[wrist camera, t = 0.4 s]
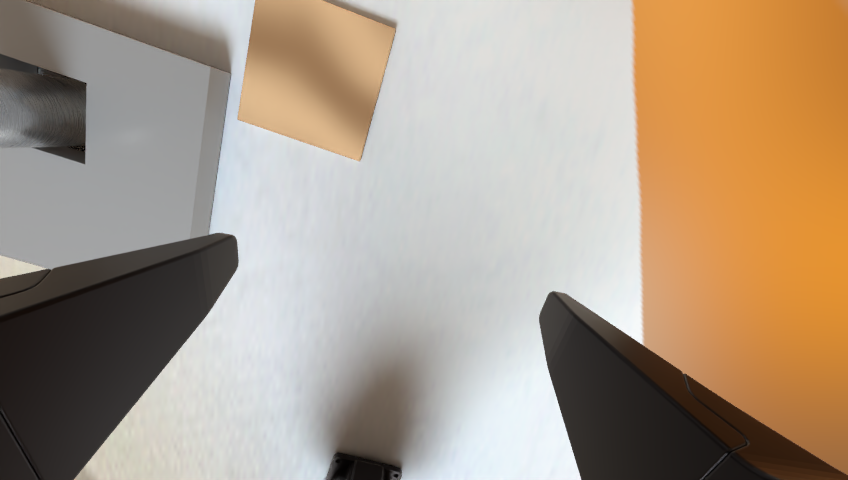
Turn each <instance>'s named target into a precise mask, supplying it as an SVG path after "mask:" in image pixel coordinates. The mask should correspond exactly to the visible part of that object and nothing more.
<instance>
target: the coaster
mask: <svg viewBox="0 0 848 480" xmlns="http://www.w3.org/2000/svg"><path fill="white" fill-rule="evenodd" d="M395 32H396V30H395V28H392V27H390V26H387V25H384V24H382V23H379V22H377V21H374V20H372V19H369V18H366V17H364V16H361V15H359V14H356V13H354V12H351V11H348V10H346V9H343V8H341V7H338V6H336V5H333V4H330V3H328V2H325V1H323V0H255V7H254V13H253V20H252V27H251V33H250V40H249V46H248V53H247V60H246V66H245V73H244V79H243V86H242V92H241V99H240V106H239V112H238V120H240V121H243V122H246V123H249V124H252V125H255V126H258V127H261V128H264V129H267V130H270V131H272V132H275V133H278V134H281V135H284V136H287V137H290V138H293V139H296V140H299V141H302V142H305V143H307V144H310V145H313V146H316V147H319V148H322V149H325V150H328V151H331V152H334V153H337V154H340V155H342V156H345V157H348V158H351V159H354V160H357V161H360V160H361V157H362V153H363V149H364V146H365V142H366V138H367V135H368V131H369V127H370V124H371V120H372V116H373V113H374V109H375V105H376V102H377V98H378V94H379V90H380V87H381V83H382V79H383V76H384V72H385V68H386V65H387V61H388V57H389V54H390V50H391V46H392V43H393V39H394V35H395Z"/></svg>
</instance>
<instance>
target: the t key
mask: <svg viewBox="0 0 848 480" xmlns="http://www.w3.org/2000/svg"><path fill="white" fill-rule="evenodd" d="M86 86H87V85H86V84H84V83H82V82H80V81H77V80H73V79H66V78H60V77H54V76H47V75H41V74H35V73H28V72H22V71H16V70H9V69H3V68H0V148H31V147H62V146H86Z"/></svg>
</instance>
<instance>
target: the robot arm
mask: <svg viewBox="0 0 848 480" xmlns="http://www.w3.org/2000/svg"><path fill="white" fill-rule="evenodd" d="M237 267H238V247H237V239H236V237H235V236H233V235H230V234H224V233H215V234H211V235H206V236H201V237H196V238H192V239H187V240H182V241H178V242H173V243H168V244H163V245H159V246H154V247H149V248H145V249H140V250H135V251H130V252H126V253H121V254H116V255H112V256H107V257H102V258H98V259H93V260H88V261H83V262H79V263H74V264H69V265H65V266H60V267H55V268H53V269H52V270H51V269H45V270H41V271H36V272H31V273H27V274H22V275H17V276H12V277H7V278H2V279H0V480H74V479H75V477H76V476H77V475H78V474H79V472H80V471H81V470H82V469H83V468H84V466H85V465H86V464H87V463H88V461H89V460H90V459H91V458H92V456H93V455H94V454H95V453H96V452H97V450H98V449H99V448H100V447H101V445H102V444H103V443H104V442H105V440H106V439H107V438H108V437H109V435H110V434H111V433H112V432H113V431H114V429H115V428H116V427H117V426H118V424H119V423H120V422H121V421H122V419H123V418H124V417H125V416H126V415H127V413H128V412H129V411H130V410H131V408H132V407H133V406H134V405H135V403H136V402H137V401H138V400H139V398H140V397H141V396H142V395H143V394H144V392H145V391H146V390H147V389H148V387H149V386H150V385H151V384H152V382H153V381H154V380H155V379H156V378H157V376H158V375H159V374H160V373H161V371H162V370H163V369H164V368H165V366H166V365H167V364H168V363H169V361H170V360H171V359H172V358H173V357H174V355H175V354H176V353H177V352H178V350H179V349H180V348H181V347H182V345H183V344H184V343H185V342H186V341H187V339H188V338H189V337H190V336H191V334H192V333H193V332H194V331H195V329H196V328H197V327H198V326H199V324H200V323H201V322H202V321H203V319H204V318H205V317H206V316H207V314H208V313H209V312H210V310H211V309H212V307H213V306H214V304H215V303H216V301H217V299H218V298H219V296H220V295H221V293H222V292H223V290H224V289H225V287H226V285H227V284H228V282H229V281H230V279H231V278H232V276H233V274H234V273H235V271H236V270H237ZM539 323H540V328H541V334H542V339H543V345H544V350H545V356H546V361H547V366H548V370H549V373H550V377H551V380H552V383H553V387H554V390H555V393H556V397H557V400H558V403H559V407H560V410H561V413H562V417H563V420H564V423H565V427H566V430H567V433H568V437H569V440H570V443H571V447H572V450H573V453H574V456H575V460H576V463H577V466H578V470H579V473H580V476H581V480H848V475H846V474H844V473H843V472H841V471H839V470H838V469H835V468H834V467H832V466H830V465H829V464H827V463H826V462H824V461H822V460H821V459H819V458H818V457H816V456H815V455H813V454H811V453H810V452H808V451H806V450H805V449H803V448H801V447H800V446H798V445H797V444H795V443H793V442H792V441H790V440H789V439H787V438H785V437H783V436H782V435H780V434H779V433H777V432H776V431H774V430H772V429H770V428H769V427H767V426H766V425H764V424H762V423H761V422H759V421H758V420H756V419H755V418H753V417H751V416H750V415H748V414H747V413H745V412H743V411H742V410H740V409H738V408H737V407H735V406H734V405H732V404H731V403H729V402H728V401H726V400H724V399H723V398H721V397H720V396H718V395H717V394H715V393H714V392H712V391H711V390H709V389H708V388H706V387H704V386H703V385H701V384H700V383H698V382H697V381H695V380H694V379H693V378H691V377H689V376H688V375H687V374H683V373H682V371H680V370H679V369H677V368H676V367H674V366H673V365H671V364H670V363H669V362H667V361H666V360H664V359H663V358H661V357H659V356H658V355H657V354H655V353H653V352H652V351H650V350H649V349H648V348H646V347H645V346H643V345H642V344H640V343H639V342H637V341H636V340H634V339H633V338H631V337H630V336H628V335H627V334H625V333H624V332H622V331H621V330H619V329H618V328H616V327H615V326H613V325H612V324H610V323H609V322H607V321H606V320H604V319H603V318H601V317H600V316H598V315H597V314H595V313H594V312H592V311H591V310H589V309H588V308H586V307H585V306H583V305H582V304H580V303H579V302H577V301H576V300H574V299H573V298H571V297H570V296H568V295H567V294H565V293H560V292H555V291H552V292H550V293H549V294H548V296H547V299H546V301H545V303H544V305H543V308H542V310H541V312H540V316H539ZM401 476H402V470H401V469H400V468H397V467H393V466H389V465H385V464H381V463H377V462H373V461H369V460H365V459H361V458H357V457H353V456H349V455H345V454H341V453H337V454H335V455H334V458H333V461H332V464H331V467H330V470H329V472H328V475H327V478H326V480H400V479H401Z"/></svg>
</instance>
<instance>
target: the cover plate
mask: <svg viewBox="0 0 848 480" xmlns="http://www.w3.org/2000/svg"><path fill="white" fill-rule="evenodd" d="M37 66H38V67H41V68H44V69H47V70H50V71H53V72H56V73H59V74H62V75H65V76H68V77H71V78H73V79H76V80H79V81H82V82H85V83H87V86H86V151H85V152H82V151H79V150H76V149H73V148H70V147H67V146H62V147H31V148H0V255H1V256H5V257H9V258H12V259H16V260H19V261H23V262H26V263H30V264H33V265H37V266H40V267H44V268H48V269H51V270H52V269H53V268H55V267H60V266H65V265H69V264H74V263H79V262H83V261H88V260H93V259H98V258H102V257H107V256H112V255H116V254H121V253H126V252H130V251H135V250H140V249H145V248H149V247H154V246H159V245H163V244H168V243H173V242H178V241H182V240H187V239H192V238H196V237H201V236H206V235H208V234H209V227H210V220H211V212H212V205H213V198H214V191H215V184H216V177H217V170H218V163H219V155H220V148H221V141H222V134H223V127H224V120H225V113H226V105H227V98H228V91H229V84H230V77H231V73H228V72H225V71H222V70H220V69H217V68H214V67H211V66H208V65H206V64H203V63H200V62H197V61H194V60H192V59H189V58H186V57H183V56H180V55H177V54H175V53H172V52H169V51H166V50H163V49H161V48H158V47H155V46H152V45H149V44H147V43H144V42H141V41H138V40H135V39H133V38H130V37H127V36H124V35H121V34H119V33H116V32H113V31H110V30H107V29H104V28H102V27H99V26H96V25H93V24H90V23H88V22H85V21H82V20H79V19H76V18H74V17H71V16H68V15H65V14H62V13H60V12H57V11H54V10H51V9H48V8H46V7H43V6H40V5H37V4H34V3H32V2H29V1H26V0H0V68H3V69H9V70H16V71H22V72H28V73H35V74H37Z"/></svg>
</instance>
